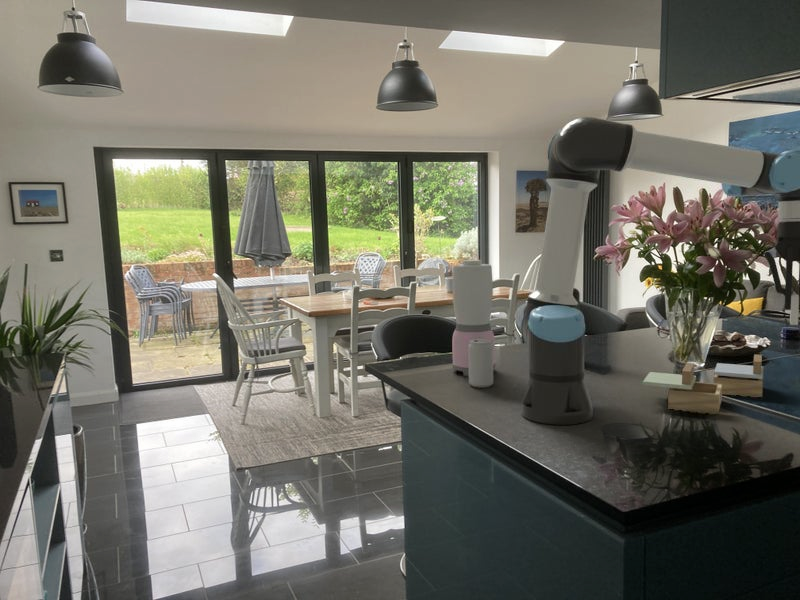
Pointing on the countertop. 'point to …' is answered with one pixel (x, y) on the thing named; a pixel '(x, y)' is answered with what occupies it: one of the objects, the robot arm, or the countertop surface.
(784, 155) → the robot arm
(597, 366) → the countertop surface
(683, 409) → the box near
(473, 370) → the beverage can
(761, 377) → the lid far
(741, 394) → the box far
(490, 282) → the blender
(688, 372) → the lid near
